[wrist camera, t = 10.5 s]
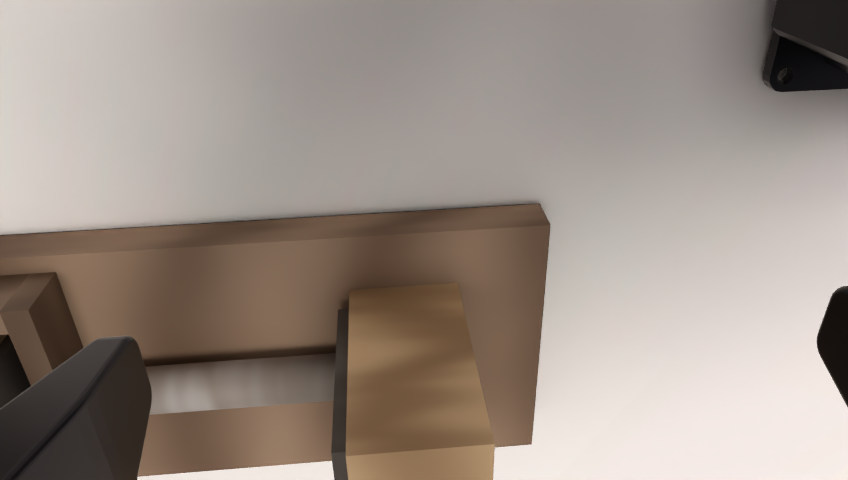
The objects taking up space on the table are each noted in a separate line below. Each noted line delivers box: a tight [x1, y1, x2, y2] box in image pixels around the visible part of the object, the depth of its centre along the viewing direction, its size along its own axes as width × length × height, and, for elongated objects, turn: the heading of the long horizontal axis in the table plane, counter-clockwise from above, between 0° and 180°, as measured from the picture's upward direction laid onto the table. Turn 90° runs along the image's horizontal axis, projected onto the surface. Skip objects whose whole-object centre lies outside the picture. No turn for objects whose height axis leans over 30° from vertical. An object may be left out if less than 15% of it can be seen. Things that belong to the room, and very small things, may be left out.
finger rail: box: [0, 204, 550, 480], centre depth 21 cm, size 24×10×8 cm, turn 91°
